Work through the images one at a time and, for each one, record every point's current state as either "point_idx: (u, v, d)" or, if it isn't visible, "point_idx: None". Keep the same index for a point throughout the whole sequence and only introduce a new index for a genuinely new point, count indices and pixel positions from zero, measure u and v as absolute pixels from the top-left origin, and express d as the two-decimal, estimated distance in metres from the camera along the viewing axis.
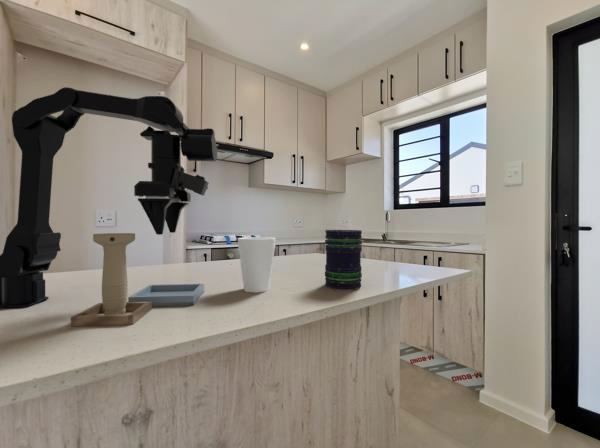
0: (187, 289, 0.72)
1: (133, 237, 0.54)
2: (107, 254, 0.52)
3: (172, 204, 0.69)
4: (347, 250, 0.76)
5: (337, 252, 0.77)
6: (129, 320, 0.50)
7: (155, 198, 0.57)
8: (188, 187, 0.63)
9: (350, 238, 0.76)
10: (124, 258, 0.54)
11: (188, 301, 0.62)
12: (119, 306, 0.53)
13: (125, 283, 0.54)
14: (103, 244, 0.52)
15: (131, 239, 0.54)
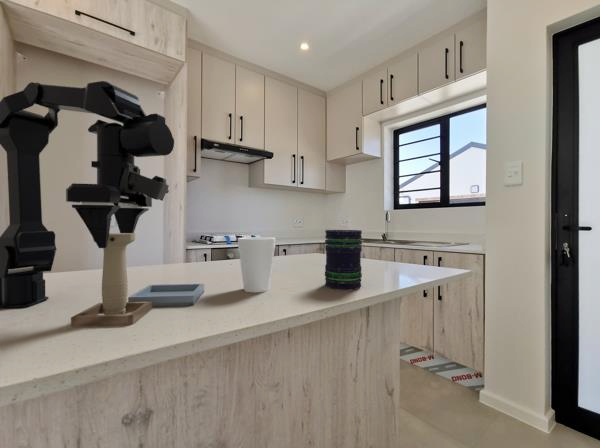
0: (187, 289, 0.72)
1: (133, 237, 0.54)
2: (107, 254, 0.52)
3: (127, 210, 0.59)
4: (347, 250, 0.76)
5: (337, 252, 0.77)
6: (129, 320, 0.50)
7: (93, 205, 0.46)
8: (140, 191, 0.52)
9: (350, 238, 0.76)
10: (124, 258, 0.54)
11: (188, 301, 0.62)
12: (119, 306, 0.53)
13: (125, 283, 0.54)
14: None
15: (131, 239, 0.54)
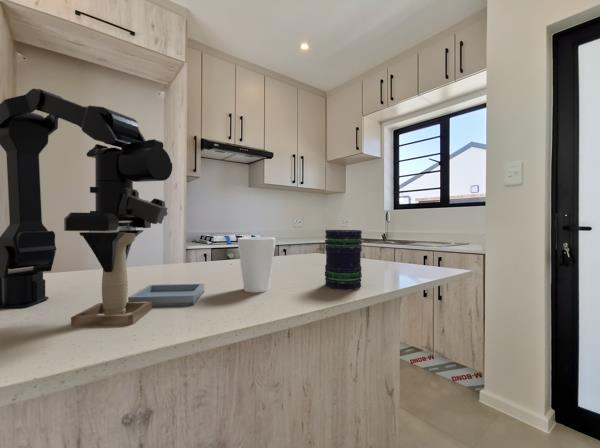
0: (187, 289, 0.72)
1: (133, 237, 0.54)
2: None
3: None
4: (347, 250, 0.76)
5: (337, 252, 0.77)
6: (129, 320, 0.50)
7: (99, 233, 0.48)
8: (139, 216, 0.52)
9: (350, 238, 0.76)
10: (124, 258, 0.54)
11: (188, 301, 0.62)
12: (119, 306, 0.53)
13: (125, 283, 0.54)
14: None
15: (131, 239, 0.54)
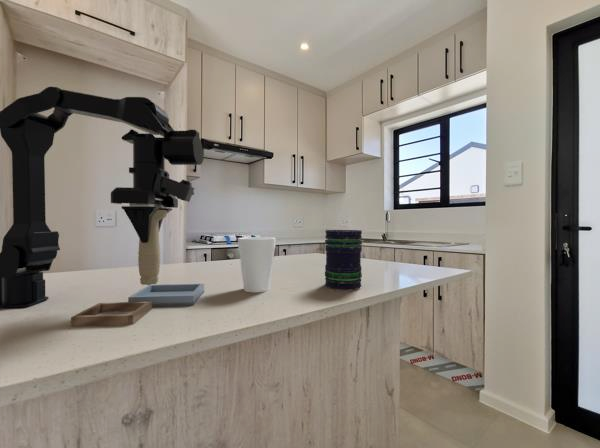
0: (187, 289, 0.72)
1: (165, 213, 0.61)
2: None
3: None
4: (347, 250, 0.76)
5: (337, 252, 0.77)
6: (129, 320, 0.50)
7: (139, 206, 0.55)
8: (171, 193, 0.59)
9: (350, 238, 0.76)
10: (157, 231, 0.61)
11: (188, 301, 0.62)
12: (153, 273, 0.60)
13: (158, 253, 0.61)
14: None
15: (164, 214, 0.61)
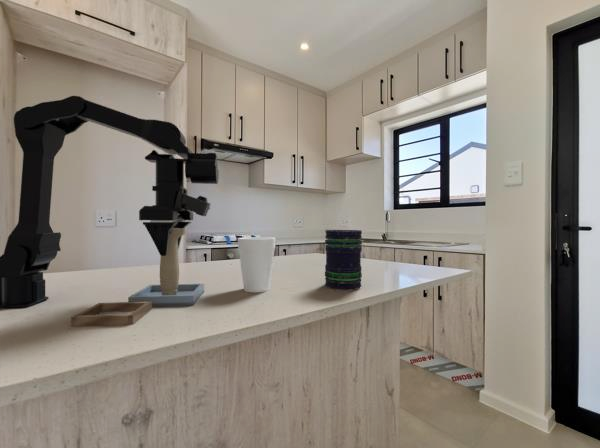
0: (187, 289, 0.72)
1: (184, 231, 0.67)
2: None
3: (175, 223, 0.71)
4: (347, 250, 0.76)
5: (337, 252, 0.77)
6: (129, 320, 0.50)
7: (159, 222, 0.59)
8: (191, 209, 0.65)
9: (350, 238, 0.76)
10: (177, 248, 0.67)
11: (188, 301, 0.62)
12: (173, 287, 0.66)
13: (178, 268, 0.67)
14: None
15: (183, 233, 0.66)
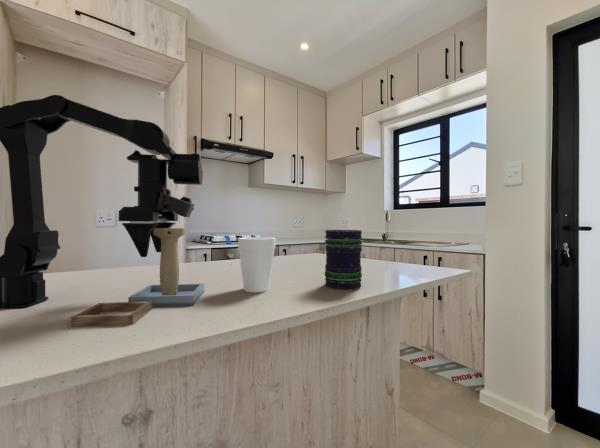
0: (187, 289, 0.72)
1: (184, 231, 0.67)
2: (164, 245, 0.65)
3: (159, 224, 0.71)
4: (347, 250, 0.76)
5: (337, 252, 0.77)
6: (129, 320, 0.50)
7: (139, 223, 0.58)
8: (173, 210, 0.64)
9: (350, 238, 0.76)
10: (177, 248, 0.67)
11: (188, 301, 0.62)
12: (173, 287, 0.66)
13: (178, 268, 0.67)
14: (161, 236, 0.65)
15: (183, 233, 0.66)
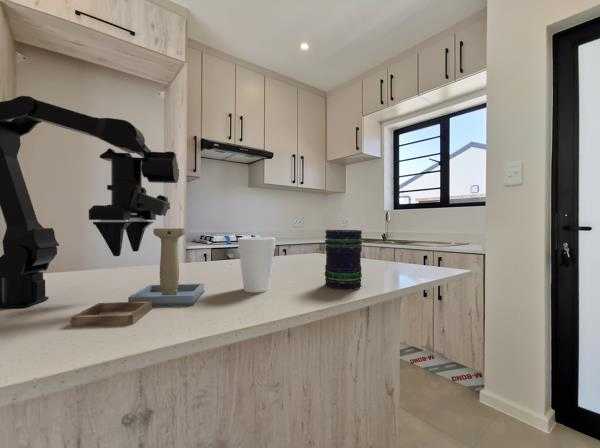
0: (187, 289, 0.72)
1: (184, 231, 0.67)
2: (164, 245, 0.65)
3: (135, 223, 0.71)
4: (347, 250, 0.76)
5: (337, 252, 0.77)
6: (129, 320, 0.50)
7: (110, 222, 0.58)
8: (147, 209, 0.64)
9: (350, 238, 0.76)
10: (177, 248, 0.67)
11: (188, 301, 0.62)
12: (173, 287, 0.66)
13: (178, 268, 0.67)
14: (161, 236, 0.65)
15: (183, 233, 0.66)
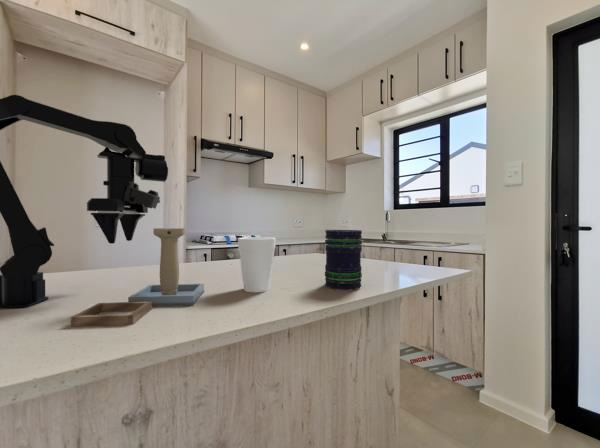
0: (187, 289, 0.72)
1: (184, 231, 0.67)
2: (164, 245, 0.65)
3: (129, 215, 0.79)
4: (347, 250, 0.76)
5: (337, 252, 0.77)
6: (129, 320, 0.50)
7: (105, 213, 0.66)
8: (139, 202, 0.72)
9: (350, 238, 0.76)
10: (177, 248, 0.67)
11: (188, 301, 0.62)
12: (173, 287, 0.66)
13: (178, 268, 0.67)
14: (161, 236, 0.65)
15: (183, 233, 0.66)
